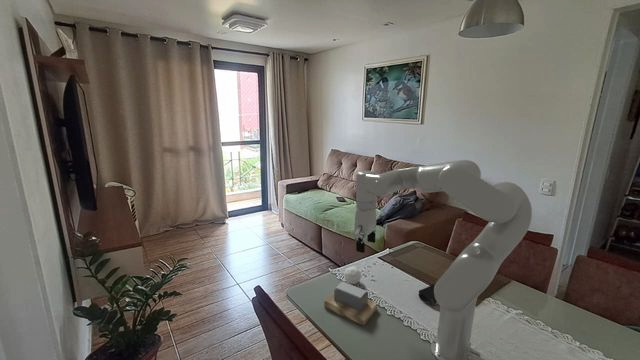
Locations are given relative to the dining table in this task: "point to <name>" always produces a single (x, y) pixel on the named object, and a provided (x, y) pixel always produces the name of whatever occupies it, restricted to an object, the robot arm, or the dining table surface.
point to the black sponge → (428, 294)
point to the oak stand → (351, 310)
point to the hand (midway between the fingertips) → (366, 246)
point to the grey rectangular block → (351, 296)
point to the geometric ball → (352, 275)
